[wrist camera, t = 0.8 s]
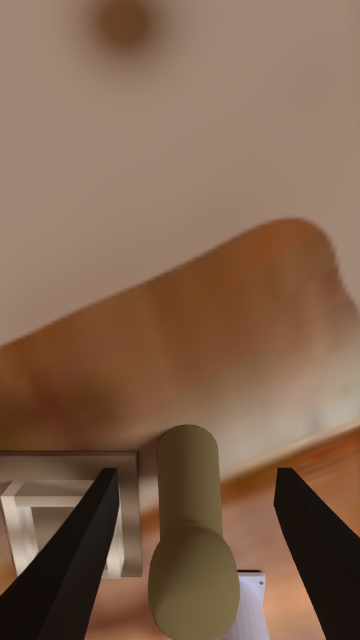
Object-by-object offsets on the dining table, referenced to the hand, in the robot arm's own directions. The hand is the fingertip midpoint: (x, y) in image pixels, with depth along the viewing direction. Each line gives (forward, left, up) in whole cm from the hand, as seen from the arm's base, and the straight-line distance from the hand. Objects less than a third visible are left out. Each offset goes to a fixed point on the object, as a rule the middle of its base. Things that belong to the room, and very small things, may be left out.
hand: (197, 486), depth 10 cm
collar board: (-16, +12, -10) cm, 23 cm away
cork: (-8, 0, -11) cm, 13 cm away
